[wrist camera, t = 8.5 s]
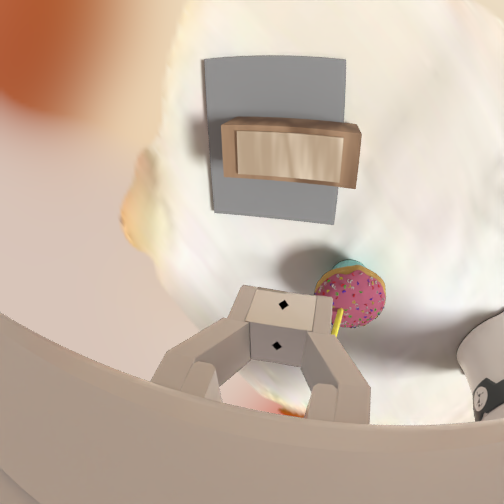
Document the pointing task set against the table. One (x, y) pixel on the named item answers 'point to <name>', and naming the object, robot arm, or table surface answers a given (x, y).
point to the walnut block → (291, 150)
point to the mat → (272, 105)
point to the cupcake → (352, 294)
